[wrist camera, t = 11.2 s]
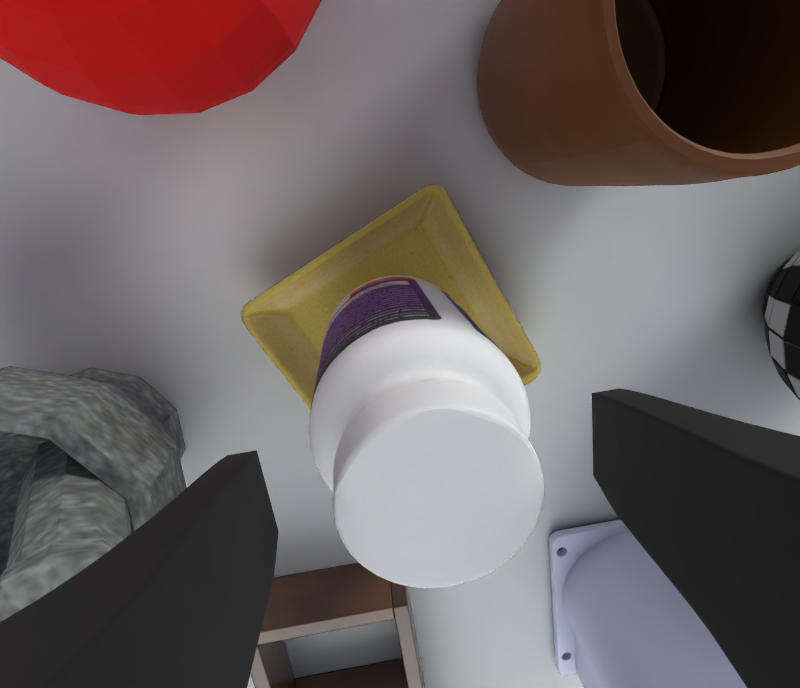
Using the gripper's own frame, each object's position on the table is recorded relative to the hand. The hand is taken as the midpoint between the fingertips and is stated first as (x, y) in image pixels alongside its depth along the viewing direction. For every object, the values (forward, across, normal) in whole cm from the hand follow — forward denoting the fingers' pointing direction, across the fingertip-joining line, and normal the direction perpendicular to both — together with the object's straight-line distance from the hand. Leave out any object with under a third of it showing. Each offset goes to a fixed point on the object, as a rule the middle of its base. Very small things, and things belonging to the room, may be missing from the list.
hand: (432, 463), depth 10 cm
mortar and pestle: (+11, +12, +2) cm, 16 cm away
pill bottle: (+8, 0, 0) cm, 9 cm away
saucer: (+11, 0, 0) cm, 11 cm away
